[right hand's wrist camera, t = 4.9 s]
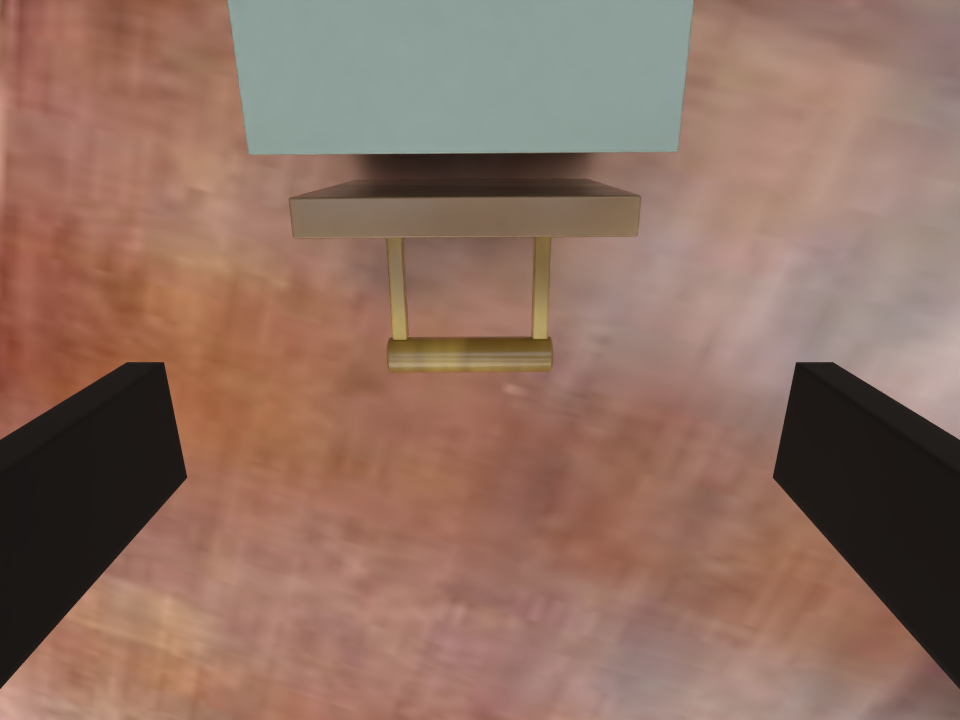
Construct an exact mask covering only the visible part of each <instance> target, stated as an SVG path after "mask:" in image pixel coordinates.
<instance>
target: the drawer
mask: <svg viewBox="0 0 960 720" xmlns="http://www.w3.org/2000/svg"><path fill="white" fill-rule="evenodd" d="M640 205H641V196H640V195H637V194H633V193H630V192H627V191H624V190H621V189H617V188H614V187H611V186H608V185H604V184H601V183H598V182H595V181H592V180H588V179H466V180H354V181H350V182H347V183H343V184H339V185H335V186H332V187H328V188H324V189H321V190H317V191H313V192H309V193H306V194H302V195H298V196H294V197H291V198H289V207H290V215H291V224H292V232H293V238H295V239H329V238H386V241H387V257H388V274H389V290H390V306H391V322H392V337H391V338H389V340H388V345H387V364H388V369H389V371H390V372H392V373H404V372H550V371H551V369H552V364H553V345H552V339H551V337H549V336H548V307H549V279H550V251H551V237H636V236H637V235H638V228H639V217H640ZM490 237H534V254H533V293H532V332H531V334H532V337H408V335H409V329H408V310H407V290H406V271H405V251H404V238H490Z"/></svg>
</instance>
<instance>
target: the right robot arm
mask: <svg viewBox="0 0 960 720" xmlns="http://www.w3.org/2000/svg"><path fill="white" fill-rule="evenodd" d="M186 478H187V474H186V469H185V465H184V460H183V455H182V450H181V445H180V440H179V435H178V430H177V425H176V420H175V415H174V410H173V405H172V400H171V395H170V390H169V385H168V380H167V375H166V371H165V366H164V362H127V363H125V364H123V365H122V366H120V367H119V368H117V369H115V370H114V371H112V372H110V373H109V374H107V375H105V376H104V377H102V378H101V379H99V380H97V381H96V382H94V383H92V384H91V385H89V386H88V387H86V388H84V389H83V390H81V391H79V392H78V393H76V394H74V395H73V396H71V397H70V398H68V399H66V400H65V401H63V402H61V403H60V404H58V405H56V406H55V407H53V408H52V409H50V410H48V411H47V412H45V413H43V414H42V415H40V416H38V417H37V418H35V419H34V420H32V421H30V422H29V423H27V424H25V425H24V426H22V427H21V428H19V429H17V430H16V431H14V432H12V433H11V434H9V435H7V436H6V437H4V438H3V439H1V440H0V689H1V688H2V686H3V685H4V684H5V683H6V682H7V681H8V680H9V679H10V677H11V676H12V675H13V674H14V673H15V672H16V671H17V670H18V668H19V667H20V666H21V665H22V664H23V663H24V662H25V660H26V659H27V658H28V657H29V656H30V655H31V654H32V653H33V651H34V650H35V649H36V648H37V647H38V646H39V645H40V643H41V642H42V641H43V640H44V639H45V638H46V637H47V636H48V634H49V633H50V632H51V631H52V630H53V629H54V628H55V627H56V625H57V624H58V623H59V622H60V621H61V620H62V619H63V617H64V616H65V615H66V614H67V613H68V612H69V611H70V610H71V608H72V607H73V606H74V605H75V604H76V603H77V602H78V601H79V599H80V598H81V597H82V596H83V595H84V594H85V593H86V591H87V590H88V589H89V588H90V587H91V586H92V585H93V584H94V582H95V581H96V580H97V579H98V578H99V577H100V576H101V574H102V573H103V572H104V571H105V570H106V569H107V568H108V567H109V565H110V564H111V563H112V562H113V561H114V560H115V559H116V558H117V556H118V555H119V554H120V553H121V552H122V551H123V550H124V548H125V547H126V546H127V545H128V544H129V543H130V542H131V541H132V539H133V538H134V537H135V536H136V535H137V534H138V533H139V532H140V530H141V529H142V528H143V527H144V526H145V525H146V524H147V522H148V521H149V520H150V519H151V518H152V517H153V516H154V515H155V513H156V512H157V511H158V510H159V509H160V508H161V507H162V505H163V504H164V503H165V502H166V501H167V500H168V499H169V498H170V496H171V495H172V494H173V493H174V492H175V491H176V490H177V489H178V487H179V486H180V485H181V484H182V483H183V482H184V481H185V479H186ZM773 478H774V479H775V481H776V482H777V483H778V484H779V485H780V486H781V487H782V489H783V490H784V491H785V492H786V493H787V494H788V495H789V496H790V498H791V499H792V500H793V501H794V502H795V503H796V504H797V505H798V507H799V508H800V509H801V510H802V511H803V512H804V513H805V515H806V516H807V517H808V518H809V519H810V520H811V521H812V522H813V524H814V525H815V526H816V527H817V528H818V529H819V530H820V532H821V533H822V534H823V535H824V536H825V537H826V538H827V539H828V541H829V542H830V543H831V544H832V545H833V546H834V547H835V548H836V550H837V551H838V552H839V553H840V554H841V555H842V556H843V558H844V559H845V560H846V561H847V562H848V563H849V564H850V565H851V567H852V568H853V569H854V570H855V571H856V572H857V573H858V574H859V576H860V577H861V578H862V579H863V580H864V581H865V582H866V584H867V585H868V586H869V587H870V588H871V589H872V590H873V591H874V593H875V594H876V595H877V596H878V597H879V598H880V599H881V601H882V602H883V603H884V604H885V605H886V606H887V607H888V608H889V610H890V611H891V612H892V613H893V614H894V615H895V616H896V617H897V619H898V620H899V621H900V622H901V623H902V624H903V625H904V627H905V628H906V629H907V630H908V631H909V632H910V633H911V634H912V636H913V637H914V638H915V639H916V640H917V641H918V642H919V643H920V645H921V646H922V647H923V648H924V649H925V650H926V651H927V653H928V654H929V655H930V656H931V657H932V658H933V659H934V660H935V662H936V663H937V664H938V665H939V666H940V667H941V668H942V670H943V671H944V672H945V673H946V674H947V675H948V676H949V677H950V679H951V680H952V681H953V682H954V683H955V684H956V685H957V686H958V688H959V689H960V440H959V439H957V438H956V437H954V436H953V435H951V434H949V433H948V432H946V431H944V430H943V429H941V428H939V427H938V426H936V425H935V424H933V423H931V422H930V421H928V420H926V419H925V418H923V417H922V416H920V415H918V414H917V413H915V412H913V411H912V410H910V409H908V408H907V407H905V406H904V405H902V404H900V403H899V402H897V401H895V400H894V399H892V398H890V397H889V396H887V395H886V394H884V393H882V392H881V391H879V390H877V389H876V388H874V387H872V386H871V385H869V384H868V383H866V382H864V381H863V380H861V379H859V378H858V377H856V376H855V375H853V374H851V373H850V372H848V371H846V370H845V369H843V368H841V367H840V366H838V365H837V364H835V363H833V362H796V366H795V370H794V375H793V380H792V385H791V390H790V395H789V400H788V405H787V410H786V415H785V420H784V425H783V430H782V435H781V440H780V445H779V450H778V455H777V460H776V464H775V469H774V474H773Z"/></svg>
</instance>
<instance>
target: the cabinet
mask: <svg viewBox="0 0 960 720" xmlns="http://www.w3.org/2000/svg"><path fill="white" fill-rule="evenodd" d="M227 1H228V8H229V15H230V23H231V30H232V37H233V45H234V52H235V59H236V66H237V74H238V81H239V88H240V96H241V103H242V110H243V118H244V125H245V132H246V140H247V147H248V153H249V154H250V155H309V154H455V153H601V152H677V151H678V146H679V137H680V127H681V118H682V108H683V99H684V89H685V80H686V70H687V61H688V52H689V42H690V33H691V23H692V14H693V4H694V0H227Z"/></svg>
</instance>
